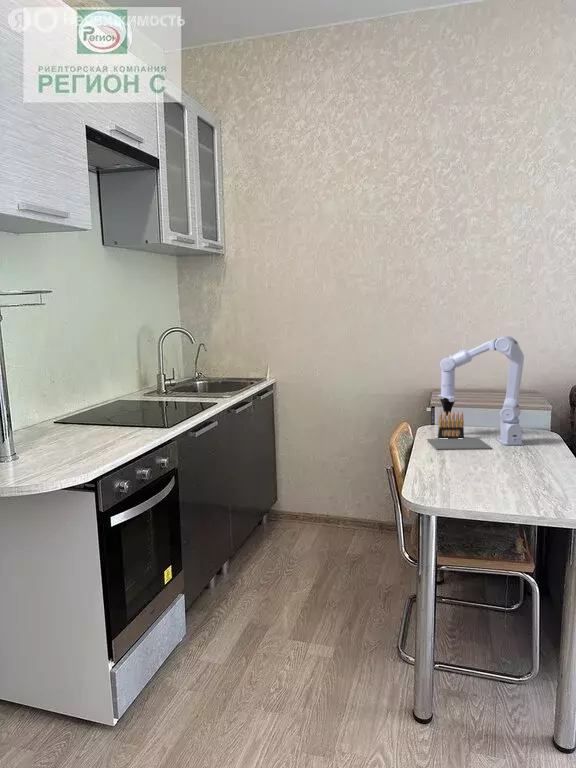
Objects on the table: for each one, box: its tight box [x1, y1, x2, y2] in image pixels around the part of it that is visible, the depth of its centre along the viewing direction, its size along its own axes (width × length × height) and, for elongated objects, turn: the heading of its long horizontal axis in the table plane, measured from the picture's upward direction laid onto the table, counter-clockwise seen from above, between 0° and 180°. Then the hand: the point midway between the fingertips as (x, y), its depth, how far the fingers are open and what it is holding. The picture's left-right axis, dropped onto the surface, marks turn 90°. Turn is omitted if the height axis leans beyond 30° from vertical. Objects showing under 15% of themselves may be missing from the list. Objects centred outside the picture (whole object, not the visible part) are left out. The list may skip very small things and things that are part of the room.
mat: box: [426, 437, 493, 451], centre depth 221 cm, size 16×22×1 cm
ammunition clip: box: [437, 410, 465, 439], centre depth 231 cm, size 11×2×12 cm, turn 83°
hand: (447, 415), depth 237 cm, fingers closed
